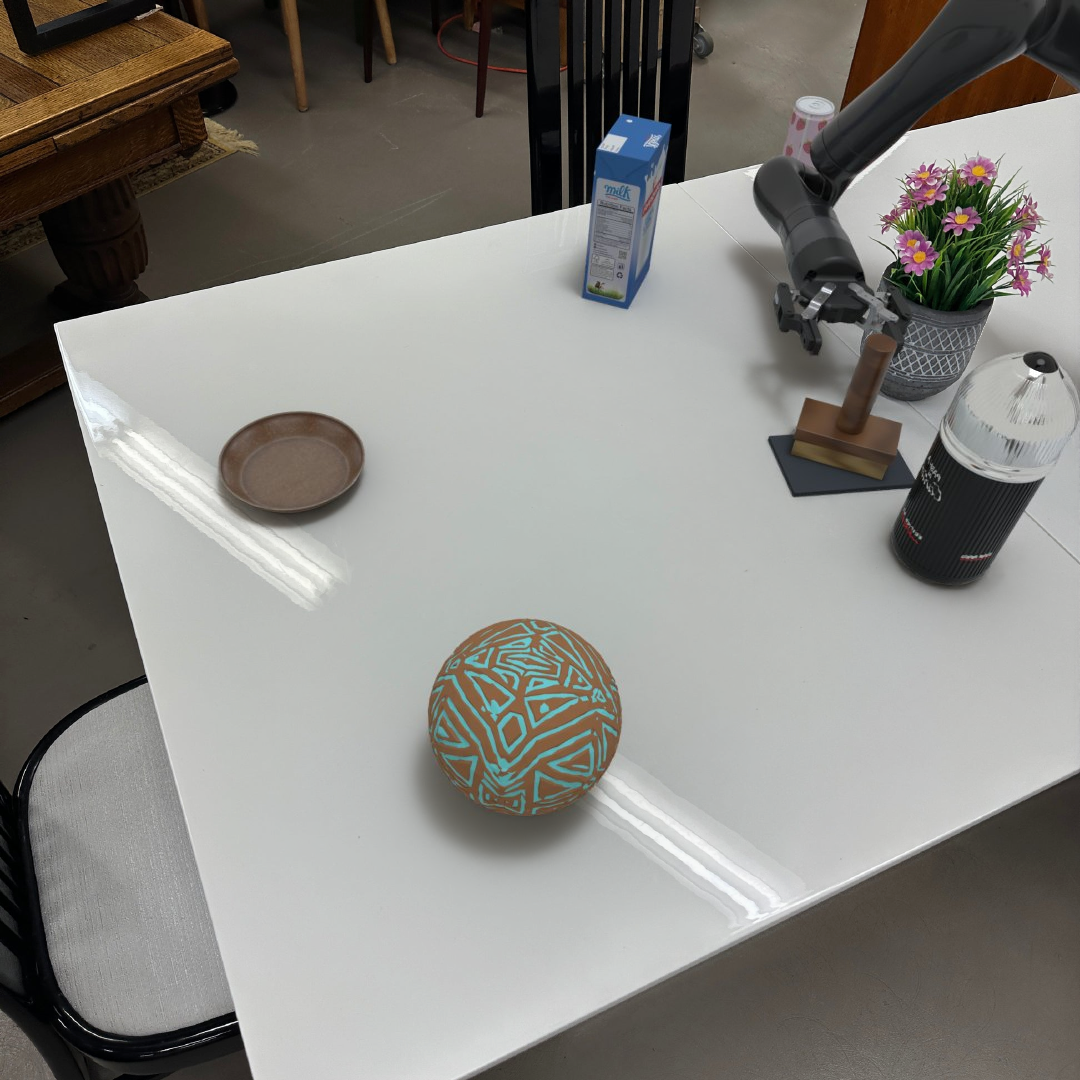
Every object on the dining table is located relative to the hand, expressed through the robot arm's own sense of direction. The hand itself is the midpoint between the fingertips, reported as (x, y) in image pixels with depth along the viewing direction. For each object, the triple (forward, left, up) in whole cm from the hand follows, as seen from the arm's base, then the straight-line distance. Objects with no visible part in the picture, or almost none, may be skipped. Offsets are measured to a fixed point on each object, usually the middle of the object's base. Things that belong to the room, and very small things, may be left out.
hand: (856, 350), depth 102 cm
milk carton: (+19, -30, -11) cm, 37 cm away
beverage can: (-11, -48, -11) cm, 51 cm away
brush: (+1, +5, -10) cm, 11 cm away
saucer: (+60, +2, -11) cm, 61 cm away
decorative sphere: (+41, +38, -11) cm, 56 cm away
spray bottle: (-5, +19, -11) cm, 23 cm away
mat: (+1, +6, -11) cm, 12 cm away
